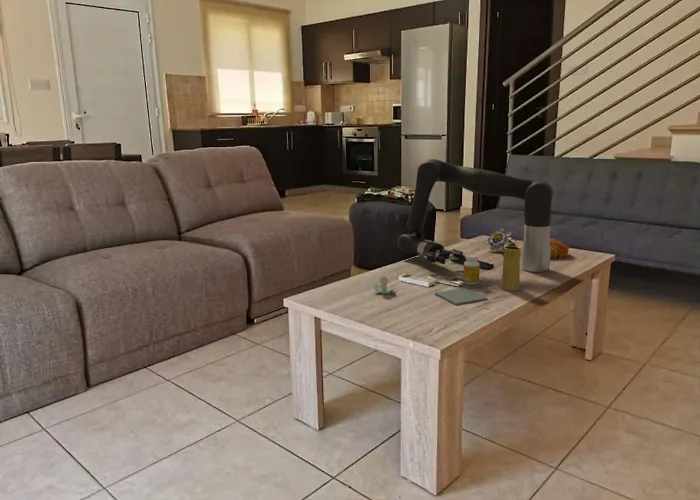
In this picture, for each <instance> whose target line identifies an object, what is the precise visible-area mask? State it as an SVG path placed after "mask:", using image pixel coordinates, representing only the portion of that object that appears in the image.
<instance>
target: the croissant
mask: <svg viewBox="0 0 700 500" xmlns="http://www.w3.org/2000/svg"><path fill="white" fill-rule="evenodd" d="M549 244H550V245H551V254H550V259H564V258H566V257H567V256H568V255H569V250H570V248H569V246H568V245H567V244H566V243H564V242H562V241H559V240H557V239H556V238H550V239H549Z"/></svg>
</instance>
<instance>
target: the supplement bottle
mask: <svg viewBox="0 0 700 500" xmlns="http://www.w3.org/2000/svg"><path fill="white" fill-rule="evenodd" d="M478 260H479V256H478V255H476V254H466V255H465V261H463V274H462V275H463V278H462V279H463V282H464V283H465V284H470V285H474V284H478V283H479V279H480V265H481V264H480V262H479V261H478Z"/></svg>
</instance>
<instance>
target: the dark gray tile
mask: <svg viewBox="0 0 700 500" xmlns="http://www.w3.org/2000/svg"><path fill="white" fill-rule="evenodd" d="M459 280H460V281H463V278H461V279H459ZM459 286H460V287H462V288H467V289H469V290H470V289H476V288H483V287H487V286H492V284H491V283H489V282H486V281H484V280H481V279H480V278H479V283H478V284H474V285H470V284H465V283H463V284H461V285H459Z"/></svg>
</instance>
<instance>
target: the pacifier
mask: <svg viewBox="0 0 700 500" xmlns="http://www.w3.org/2000/svg"><path fill="white" fill-rule="evenodd" d="M379 282H380V284H374V285H373V289H374V290H375V291H376V292H378V293H379V294H381V295H390V294H395V293H396V290H395V287H388V284H389V279H388V278H387V277H386V276H385V275H381V276H380V278H379Z"/></svg>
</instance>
